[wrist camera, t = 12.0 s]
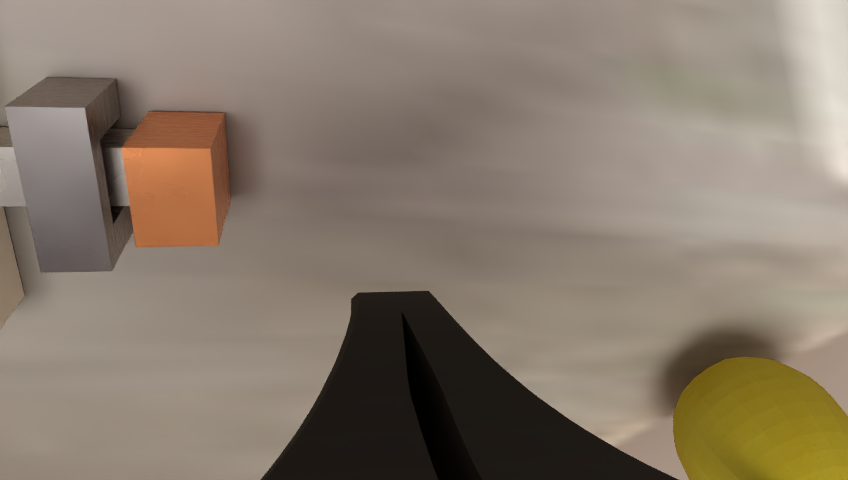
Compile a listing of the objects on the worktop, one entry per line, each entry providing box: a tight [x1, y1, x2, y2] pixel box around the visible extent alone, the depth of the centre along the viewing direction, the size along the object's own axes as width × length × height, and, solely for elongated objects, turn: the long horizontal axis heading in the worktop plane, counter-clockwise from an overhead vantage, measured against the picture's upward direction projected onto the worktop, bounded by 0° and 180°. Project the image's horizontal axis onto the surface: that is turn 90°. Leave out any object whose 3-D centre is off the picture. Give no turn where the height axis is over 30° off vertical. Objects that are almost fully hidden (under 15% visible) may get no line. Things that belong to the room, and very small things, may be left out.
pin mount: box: [4, 77, 133, 272], centre depth 18 cm, size 4×2×3 cm, turn 176°
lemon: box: [673, 357, 848, 480], centre depth 22 cm, size 7×6×10 cm
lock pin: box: [0, 112, 231, 247], centre depth 17 cm, size 3×7×3 cm, turn 86°
